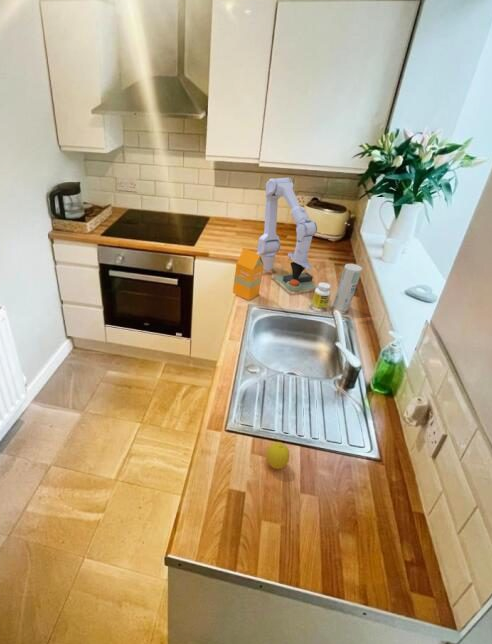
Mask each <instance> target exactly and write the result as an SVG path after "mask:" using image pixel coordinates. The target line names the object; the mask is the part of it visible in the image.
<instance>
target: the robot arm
mask: <svg viewBox="0 0 492 644" xmlns="http://www.w3.org/2000/svg"><path fill="white" fill-rule="evenodd" d="M294 186H295V185H294V183H293V180H292V178H290V177H288V176H287V177H278V178H269V180H267V182H266V183H265V209H264V211H265V212H264V228H263V229H264V230H263V234H262V235H261V236H260V237H258V242H257V245H256V249H257V252H256V253H257V254H259V255H261V258H262V261H263V264H264V267H263V272H270V271H272V270H273V268H274V262H275V256H276V255H277V253H278V252H280V250H281V240H280V239H281V238H280V236H279V235H278V234H277V220H278V206H279V205H278V204H279V199H281V197H283V199H284V200H285V202H286V203H287V205H288V206H289V208H290V209H291V212H290V216H291V218H292V220H293V221H294V224H295V225H296V228H295V232H296V243H295V247H294V251H293V252H288V254H287V258H289V259H291V260H292V261H291V262H290V267H291V273H292V274H293V279H298V278H299V276H300V274H301V273H303V272H304V270H305V271H306V272H308V271H309V272H310V271H311V270H312V265H311V264H310V263H309V258H308V257H309V252H310V249H311V243H312V239H313V236H314V235H316V234H317V232H318V225H317V223H316V221H314V220H313V219H310V217H309V215H308V213H307V211H306V209H305V207H304V206H301V205H300V203H299V201H298V199H297V196H296V194H295V191H294Z"/></svg>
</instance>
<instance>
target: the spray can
mask: <svg viewBox="0 0 492 644" xmlns="http://www.w3.org/2000/svg"><path fill="white" fill-rule="evenodd" d="M362 271H363V267H362V266H361V265H358V264H355V263H346V264H345V265H344V267H343V271H342V274H341V277H340V280H339V284H338V286H337V291H336V294H335V297H334V300H333V303H332V307H333V308H334V309H335V310H336V311H340V312H348V311H349V309H350V306H351V304H352V301H353V298H354V295H355V291H356V289H357V286H358V283H359V280H360V277H361V275H362Z"/></svg>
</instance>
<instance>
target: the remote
mask: <svg viewBox="0 0 492 644" xmlns="http://www.w3.org/2000/svg"><path fill="white" fill-rule="evenodd" d="M313 279H314V276H312V275H311V274H310V273H309V272H302V273H301V274H300V276H299V278H298V279H294V280H298V281H299V283H303V282H313ZM291 280H293V275H286V276H283V281H284V282H285V283H287V282H288V281H291Z"/></svg>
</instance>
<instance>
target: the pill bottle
mask: <svg viewBox="0 0 492 644" xmlns="http://www.w3.org/2000/svg"><path fill="white" fill-rule="evenodd" d="M331 287H332V286H331V285H330V283H327V282H319V283H318V285H317V288H315V289H314V293H313V297H312V301H311V306H312V307H313V308H314V309H317V310H325V309H327V306H328V304H329V300H330V297H331Z"/></svg>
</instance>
